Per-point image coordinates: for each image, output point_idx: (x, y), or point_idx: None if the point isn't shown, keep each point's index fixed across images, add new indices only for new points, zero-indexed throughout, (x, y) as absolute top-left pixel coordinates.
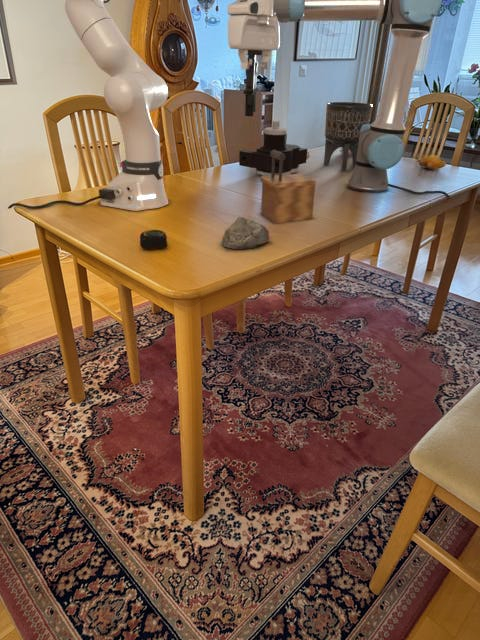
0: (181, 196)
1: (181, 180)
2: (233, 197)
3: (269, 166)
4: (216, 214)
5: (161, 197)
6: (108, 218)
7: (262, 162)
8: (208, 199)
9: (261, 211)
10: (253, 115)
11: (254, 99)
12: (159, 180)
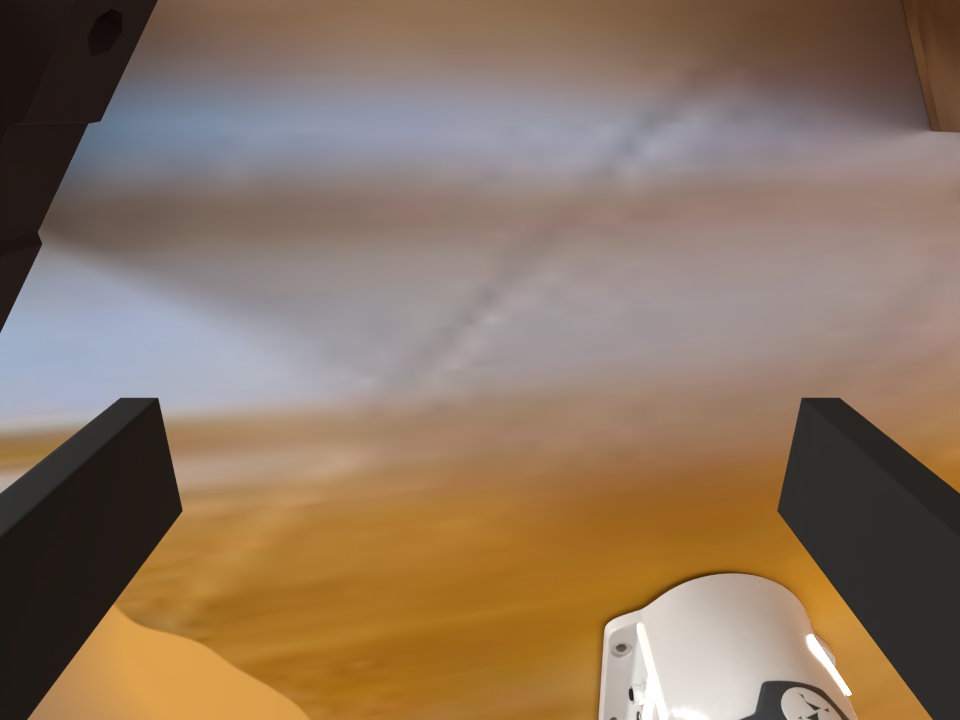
0: (595, 542)
1: (288, 589)
2: (593, 306)
3: (88, 100)
4: (903, 358)
5: (783, 614)
6: (907, 707)
7: (34, 165)
8: (640, 424)
9: (947, 129)
10: (822, 402)
11: (25, 546)
12: (808, 681)
